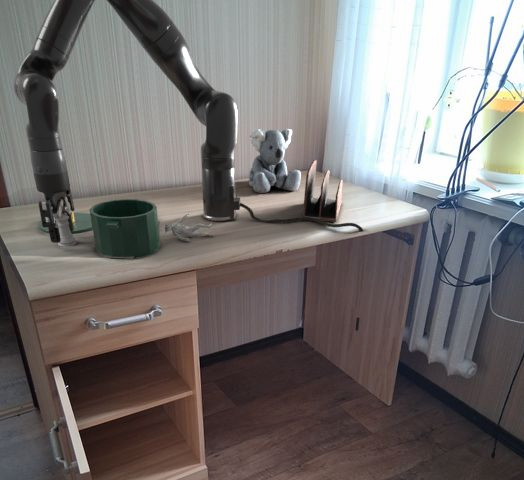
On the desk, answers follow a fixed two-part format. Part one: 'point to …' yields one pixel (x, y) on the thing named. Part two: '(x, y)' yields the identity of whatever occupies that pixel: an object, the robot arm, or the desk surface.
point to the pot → (125, 228)
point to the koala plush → (272, 162)
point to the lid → (75, 223)
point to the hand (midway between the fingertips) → (62, 236)
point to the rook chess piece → (65, 231)
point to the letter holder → (321, 198)
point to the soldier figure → (186, 229)
